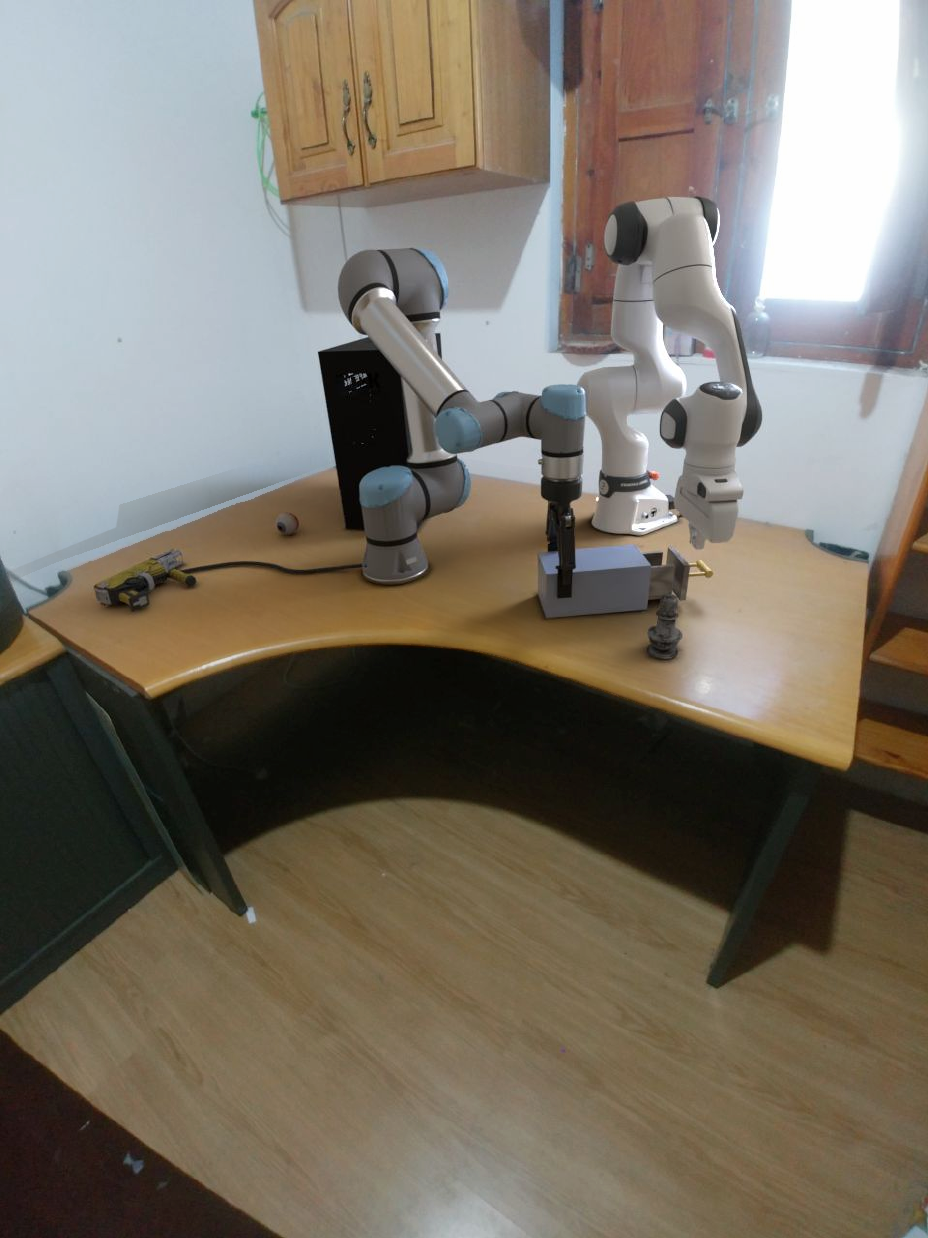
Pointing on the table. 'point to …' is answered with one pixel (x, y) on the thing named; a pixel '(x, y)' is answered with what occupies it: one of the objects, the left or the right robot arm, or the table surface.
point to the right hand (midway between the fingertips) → (696, 546)
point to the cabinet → (596, 581)
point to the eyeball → (287, 523)
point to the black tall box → (364, 417)
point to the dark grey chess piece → (665, 629)
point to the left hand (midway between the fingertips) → (558, 584)
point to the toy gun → (141, 581)
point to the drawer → (672, 573)
